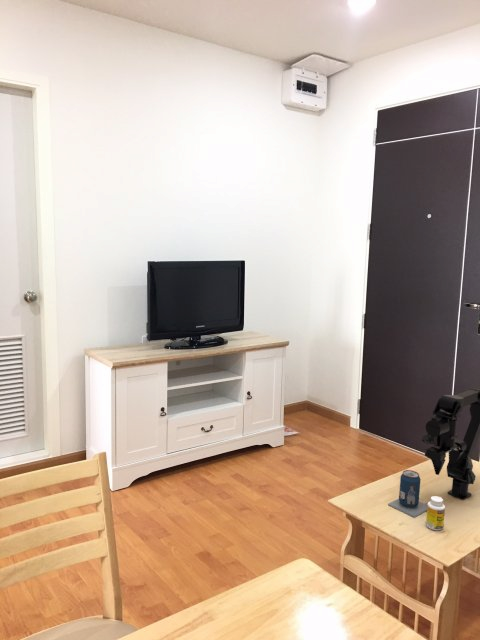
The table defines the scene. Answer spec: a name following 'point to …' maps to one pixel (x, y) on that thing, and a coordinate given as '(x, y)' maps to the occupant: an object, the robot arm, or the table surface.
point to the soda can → (409, 489)
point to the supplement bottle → (435, 513)
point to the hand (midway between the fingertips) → (444, 471)
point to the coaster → (409, 511)
